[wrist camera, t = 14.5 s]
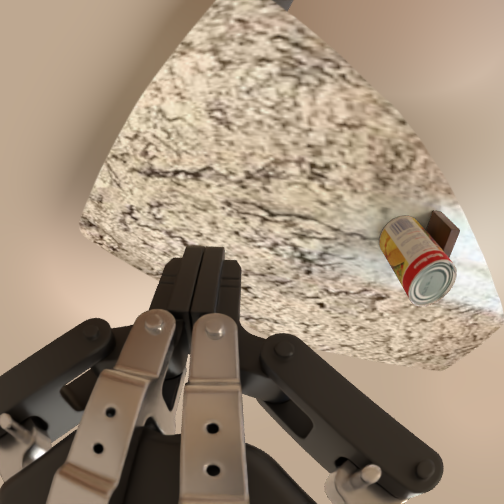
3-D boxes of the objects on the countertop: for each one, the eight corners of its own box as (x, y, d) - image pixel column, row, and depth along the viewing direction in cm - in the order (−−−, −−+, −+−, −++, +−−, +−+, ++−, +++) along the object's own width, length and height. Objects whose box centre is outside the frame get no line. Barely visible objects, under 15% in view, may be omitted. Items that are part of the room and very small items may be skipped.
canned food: (388, 264, 45) (415, 315, 35) (371, 232, 41) (402, 282, 32) (425, 241, 42) (459, 286, 32) (412, 206, 39) (452, 250, 29)
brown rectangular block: (432, 210, 39) (451, 229, 34) (441, 211, 39) (460, 230, 34) (414, 261, 45) (429, 282, 40) (423, 261, 45) (437, 282, 40)
